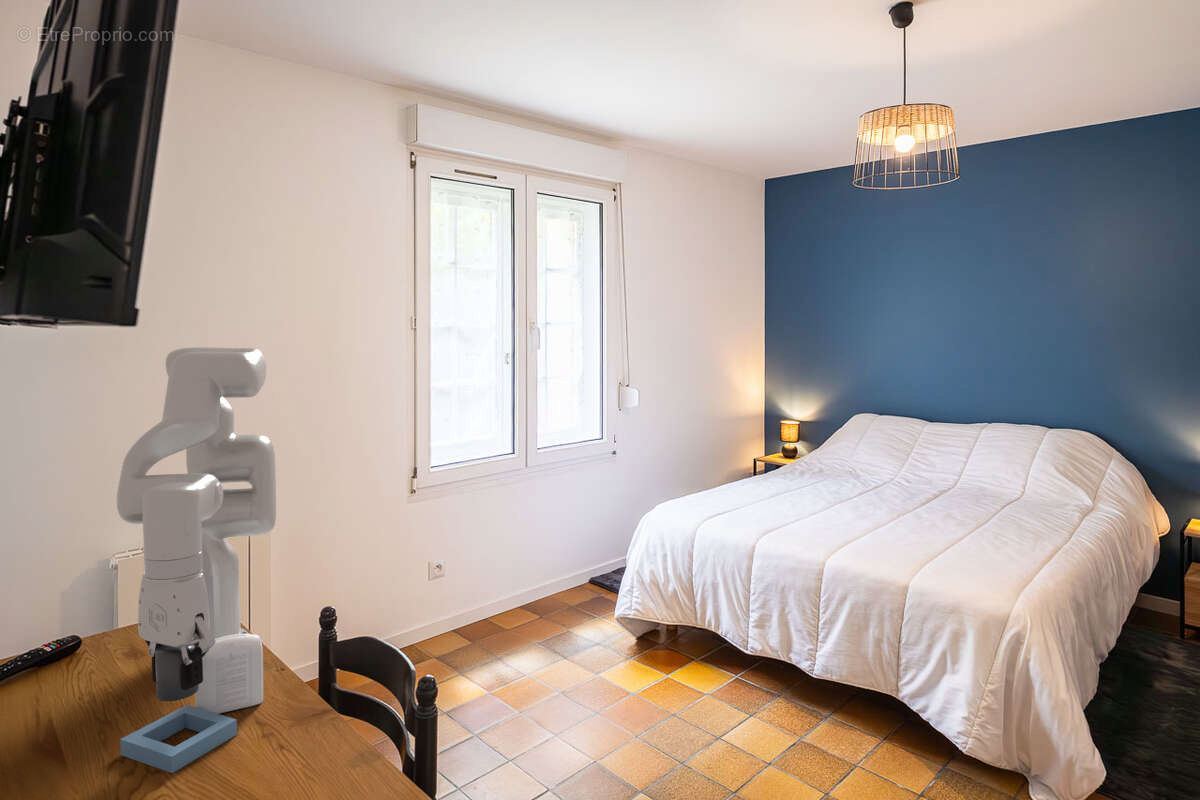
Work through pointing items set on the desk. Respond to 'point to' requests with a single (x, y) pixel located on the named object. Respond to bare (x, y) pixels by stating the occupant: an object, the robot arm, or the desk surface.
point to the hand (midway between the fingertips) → (177, 681)
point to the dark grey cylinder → (170, 674)
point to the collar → (170, 758)
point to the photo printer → (232, 674)
